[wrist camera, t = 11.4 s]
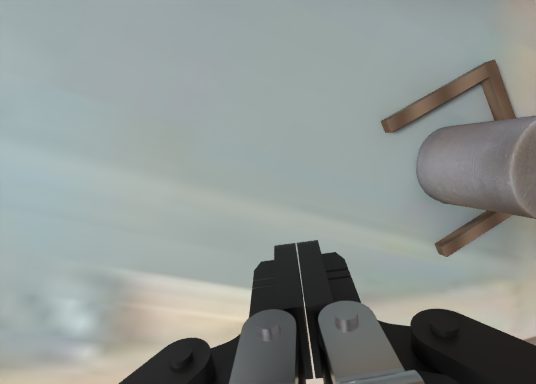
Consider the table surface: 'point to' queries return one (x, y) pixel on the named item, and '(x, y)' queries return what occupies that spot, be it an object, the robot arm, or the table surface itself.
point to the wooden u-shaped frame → (500, 111)
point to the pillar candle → (482, 166)
